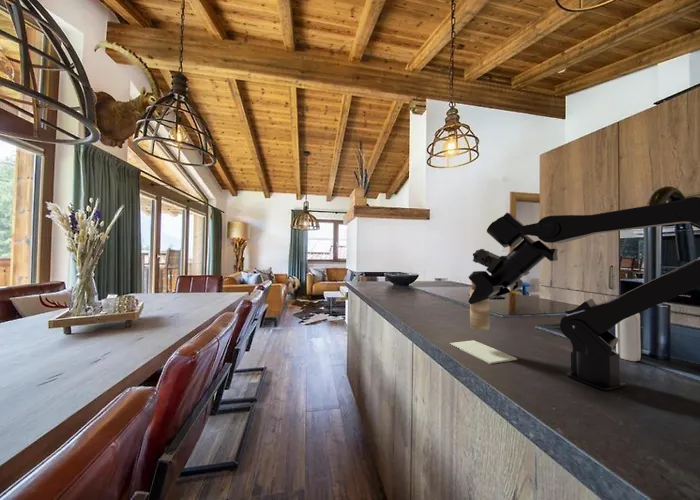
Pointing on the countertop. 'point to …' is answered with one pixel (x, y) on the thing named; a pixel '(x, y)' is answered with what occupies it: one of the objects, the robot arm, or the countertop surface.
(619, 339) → the white rounded-top upright
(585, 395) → the countertop surface
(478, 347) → the sage mat
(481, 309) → the pepper mill
